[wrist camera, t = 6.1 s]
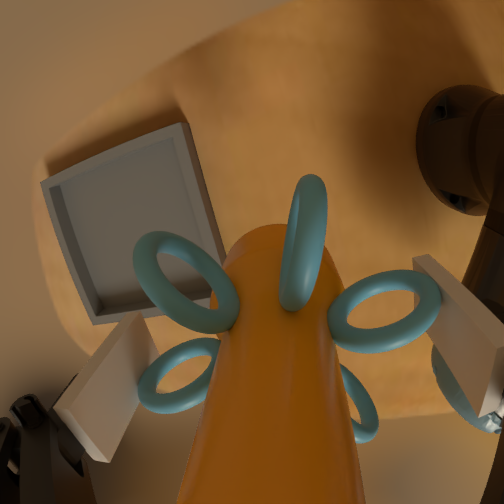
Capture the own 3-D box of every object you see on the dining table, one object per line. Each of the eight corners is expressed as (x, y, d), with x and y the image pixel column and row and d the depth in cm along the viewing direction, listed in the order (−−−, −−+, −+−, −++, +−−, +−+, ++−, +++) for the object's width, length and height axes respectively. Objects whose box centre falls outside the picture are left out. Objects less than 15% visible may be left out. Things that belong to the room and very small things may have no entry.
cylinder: (194, 147, 16) (-127, 218, 1) (396, 182, 15) (663, 339, 1) (179, 348, 20) (85, 567, 5) (339, 373, 19) (374, 600, 5)
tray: (188, 123, 32) (180, 121, 30) (237, 291, 38) (233, 303, 35) (54, 178, 36) (40, 182, 33) (103, 314, 42) (92, 325, 39)
